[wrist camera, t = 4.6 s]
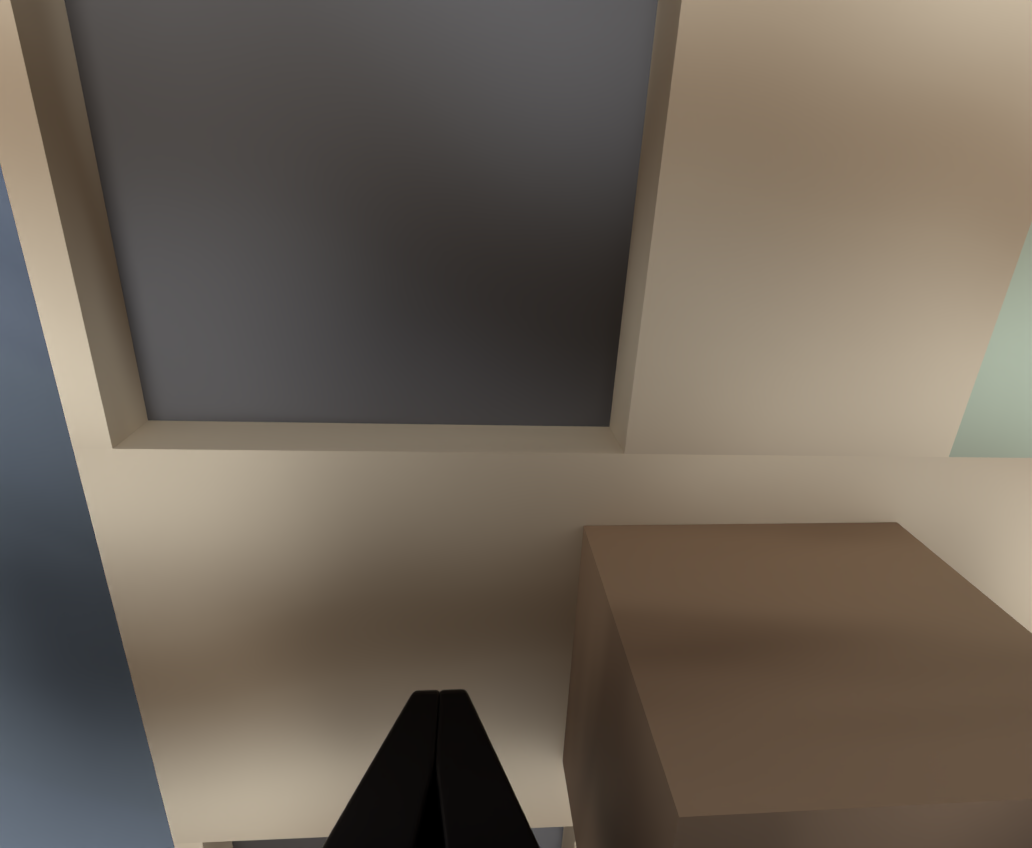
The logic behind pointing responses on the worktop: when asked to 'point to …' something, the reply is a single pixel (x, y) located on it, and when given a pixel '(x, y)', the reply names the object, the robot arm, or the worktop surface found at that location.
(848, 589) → the walnut block
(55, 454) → the worktop surface
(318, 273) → the trap board
